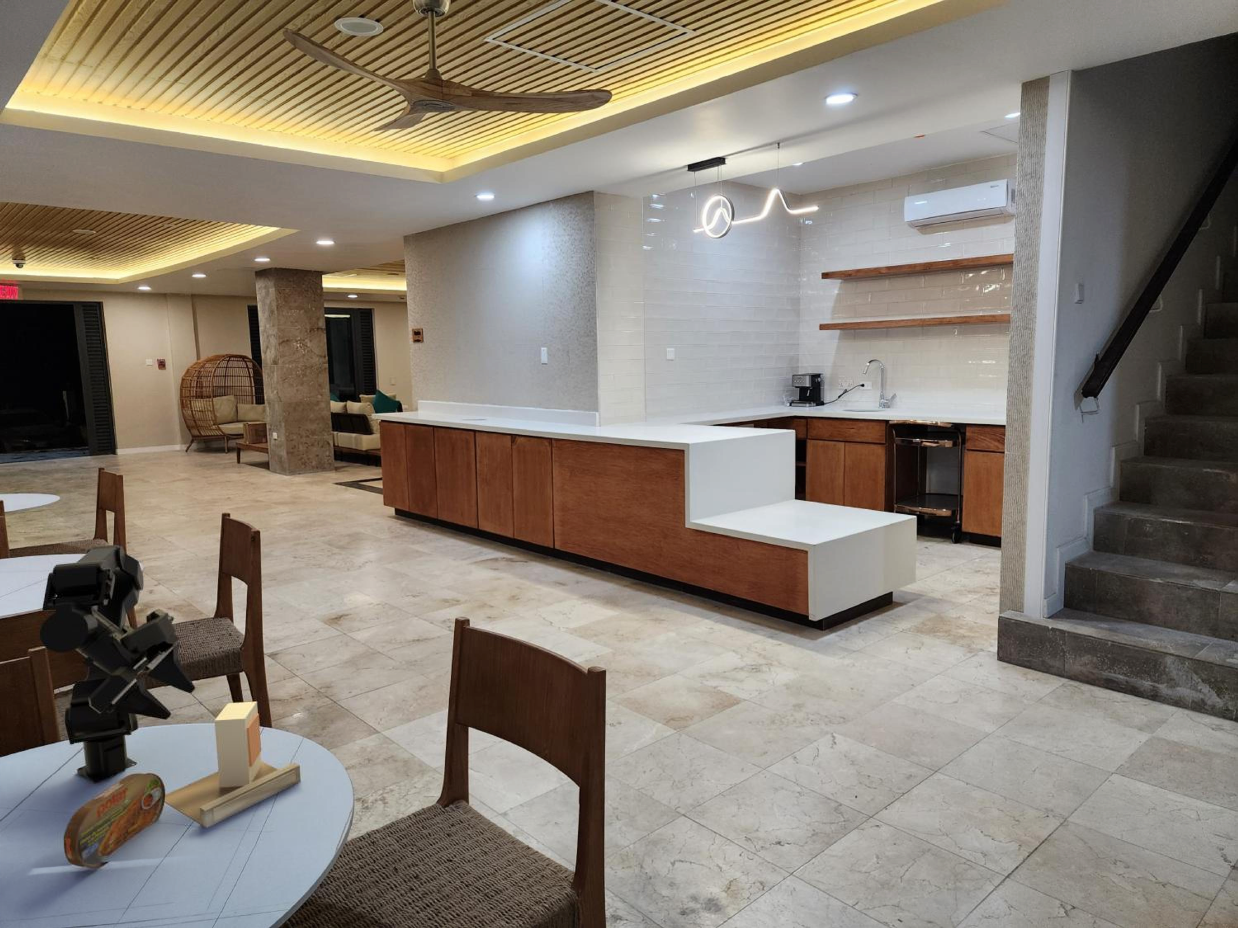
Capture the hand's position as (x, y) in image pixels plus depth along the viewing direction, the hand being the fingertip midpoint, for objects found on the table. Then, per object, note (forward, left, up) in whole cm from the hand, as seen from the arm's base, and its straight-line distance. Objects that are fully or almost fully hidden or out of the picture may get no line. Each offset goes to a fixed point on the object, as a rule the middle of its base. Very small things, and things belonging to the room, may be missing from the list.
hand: (181, 703), depth 124 cm
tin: (+8, -14, -14) cm, 21 cm away
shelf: (+7, +2, -13) cm, 15 cm away
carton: (+6, +5, -13) cm, 15 cm away
